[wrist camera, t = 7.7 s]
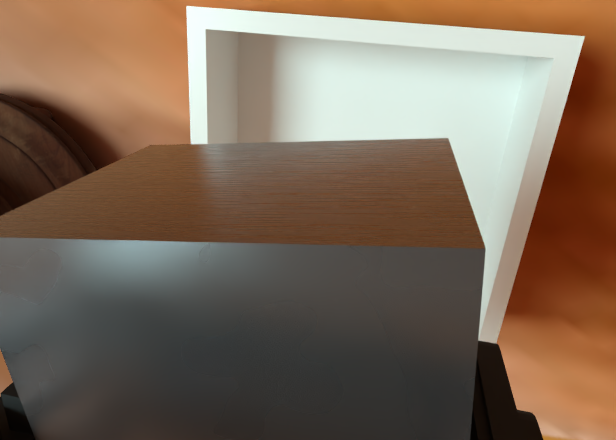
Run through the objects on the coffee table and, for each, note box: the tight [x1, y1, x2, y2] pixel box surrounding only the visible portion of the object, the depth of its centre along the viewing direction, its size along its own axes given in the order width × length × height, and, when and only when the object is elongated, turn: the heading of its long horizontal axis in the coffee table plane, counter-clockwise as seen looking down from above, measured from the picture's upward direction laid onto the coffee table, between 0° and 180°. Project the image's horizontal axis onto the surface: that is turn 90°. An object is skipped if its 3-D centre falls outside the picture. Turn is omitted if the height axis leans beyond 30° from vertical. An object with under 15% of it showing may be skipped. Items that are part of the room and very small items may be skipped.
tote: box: [186, 6, 585, 343], centre depth 23 cm, size 15×15×5 cm
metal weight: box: [0, 138, 486, 440], centre depth 9 cm, size 6×10×5 cm, turn 3°
